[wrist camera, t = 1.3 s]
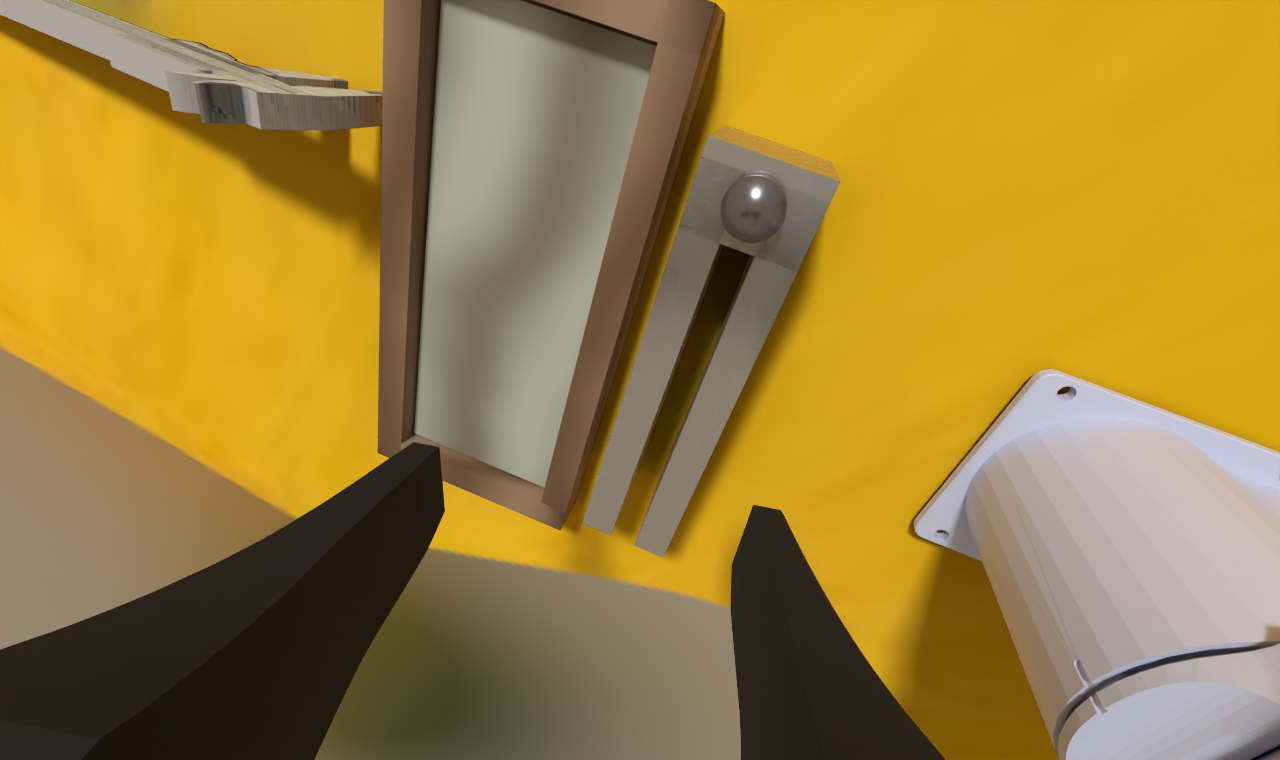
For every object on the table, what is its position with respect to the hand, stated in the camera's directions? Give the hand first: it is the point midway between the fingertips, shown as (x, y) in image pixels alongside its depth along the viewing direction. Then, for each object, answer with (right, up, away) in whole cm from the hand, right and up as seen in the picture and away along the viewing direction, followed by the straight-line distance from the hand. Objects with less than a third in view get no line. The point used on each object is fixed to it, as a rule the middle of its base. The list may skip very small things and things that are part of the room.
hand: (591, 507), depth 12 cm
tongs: (+3, +4, +8) cm, 10 cm away
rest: (-4, +7, +9) cm, 12 cm away
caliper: (-17, +16, +8) cm, 25 cm away
